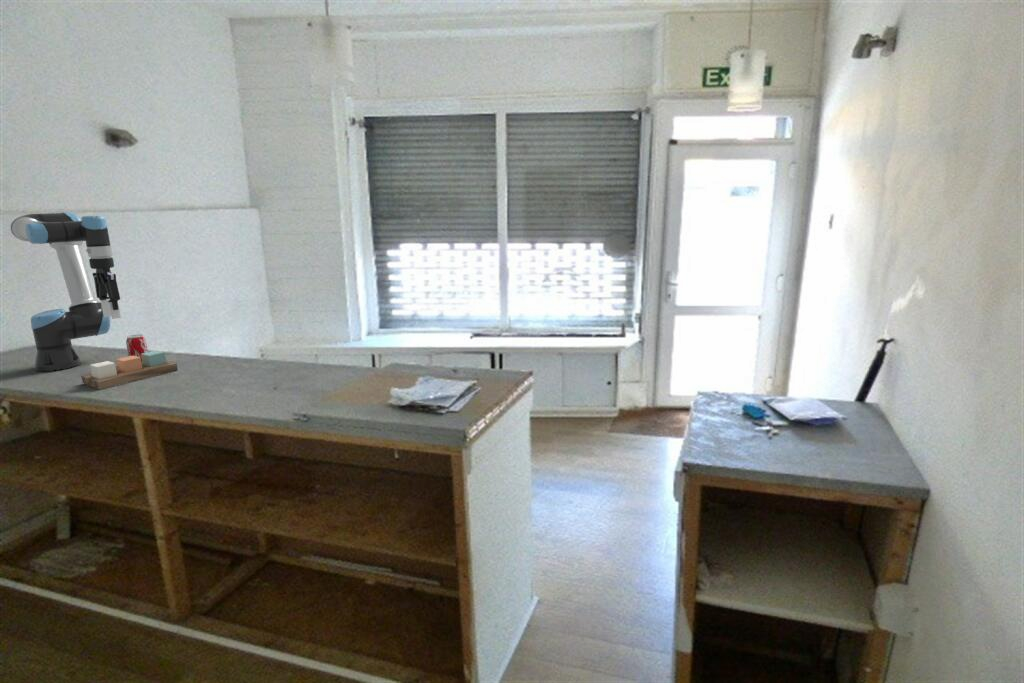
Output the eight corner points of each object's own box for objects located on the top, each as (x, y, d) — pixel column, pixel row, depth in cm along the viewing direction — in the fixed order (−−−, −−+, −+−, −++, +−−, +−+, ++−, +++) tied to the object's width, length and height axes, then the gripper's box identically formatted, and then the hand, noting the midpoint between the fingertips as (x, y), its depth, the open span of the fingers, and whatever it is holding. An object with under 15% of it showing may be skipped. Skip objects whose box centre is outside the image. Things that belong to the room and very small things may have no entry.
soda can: (143, 366, 243) (138, 337, 240) (126, 366, 243) (121, 338, 240) (153, 361, 250) (148, 333, 247) (137, 361, 250) (132, 334, 247)
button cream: (92, 378, 220) (89, 364, 219) (110, 374, 225) (107, 360, 223) (99, 381, 217) (96, 367, 215) (117, 377, 221) (114, 363, 220)
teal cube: (143, 367, 234) (141, 353, 233) (159, 363, 239) (156, 350, 238) (151, 369, 231) (148, 355, 230) (166, 365, 236) (164, 352, 235)
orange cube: (118, 372, 227) (116, 359, 226) (135, 368, 232) (133, 355, 231) (126, 375, 224) (123, 361, 223) (142, 371, 229) (140, 357, 227)
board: (83, 383, 221) (81, 376, 220) (160, 365, 243) (158, 358, 243) (99, 389, 213) (98, 381, 213) (177, 370, 236) (176, 363, 235)
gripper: (78, 257, 224) (90, 316, 229) (101, 259, 213) (112, 321, 219) (100, 255, 230) (111, 313, 235) (123, 257, 219) (134, 318, 225)
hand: (112, 317), depth 227 cm, fingers open, 6 cm apart
